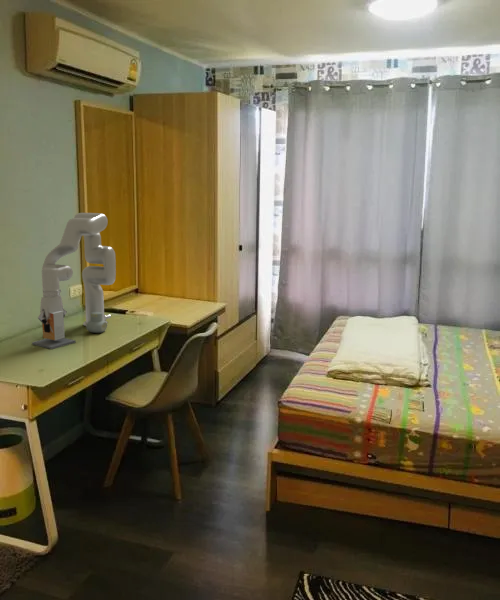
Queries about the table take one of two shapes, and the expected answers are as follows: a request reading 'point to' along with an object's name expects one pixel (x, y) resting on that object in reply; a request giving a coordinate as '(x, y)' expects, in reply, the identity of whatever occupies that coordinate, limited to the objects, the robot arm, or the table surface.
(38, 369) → the table surface
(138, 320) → the table surface
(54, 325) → the small box
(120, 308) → the table surface
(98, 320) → the air freshener
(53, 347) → the rest mat
